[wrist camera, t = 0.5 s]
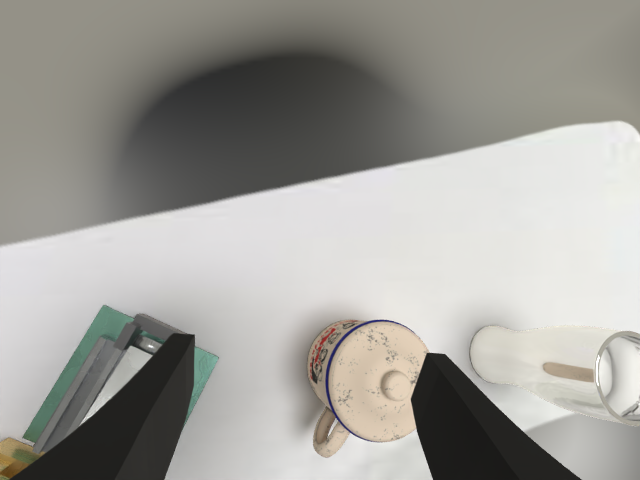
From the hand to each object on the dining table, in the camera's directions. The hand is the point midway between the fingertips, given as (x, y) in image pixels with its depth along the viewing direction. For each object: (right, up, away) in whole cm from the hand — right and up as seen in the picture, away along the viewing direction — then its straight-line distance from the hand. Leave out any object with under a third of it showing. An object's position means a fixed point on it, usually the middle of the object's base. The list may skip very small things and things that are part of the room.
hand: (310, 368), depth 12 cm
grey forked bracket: (-14, -5, +22) cm, 27 cm away
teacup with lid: (+2, -9, +26) cm, 28 cm away
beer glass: (+19, -8, +30) cm, 37 cm away
